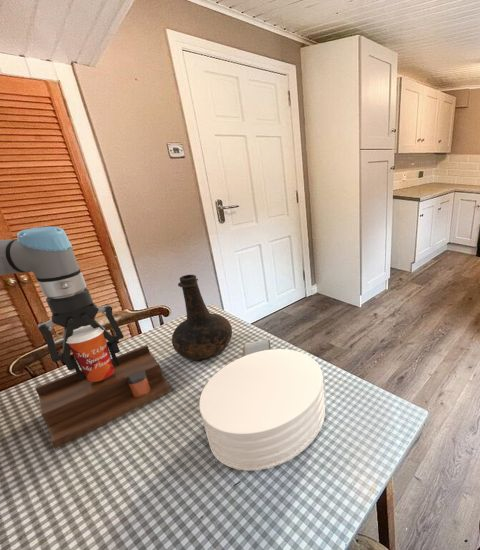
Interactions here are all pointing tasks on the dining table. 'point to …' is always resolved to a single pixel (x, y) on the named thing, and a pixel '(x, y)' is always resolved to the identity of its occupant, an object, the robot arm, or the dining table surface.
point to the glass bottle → (199, 326)
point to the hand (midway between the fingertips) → (99, 370)
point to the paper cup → (91, 352)
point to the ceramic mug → (256, 347)
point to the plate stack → (263, 408)
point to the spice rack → (97, 397)
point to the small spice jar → (138, 383)
